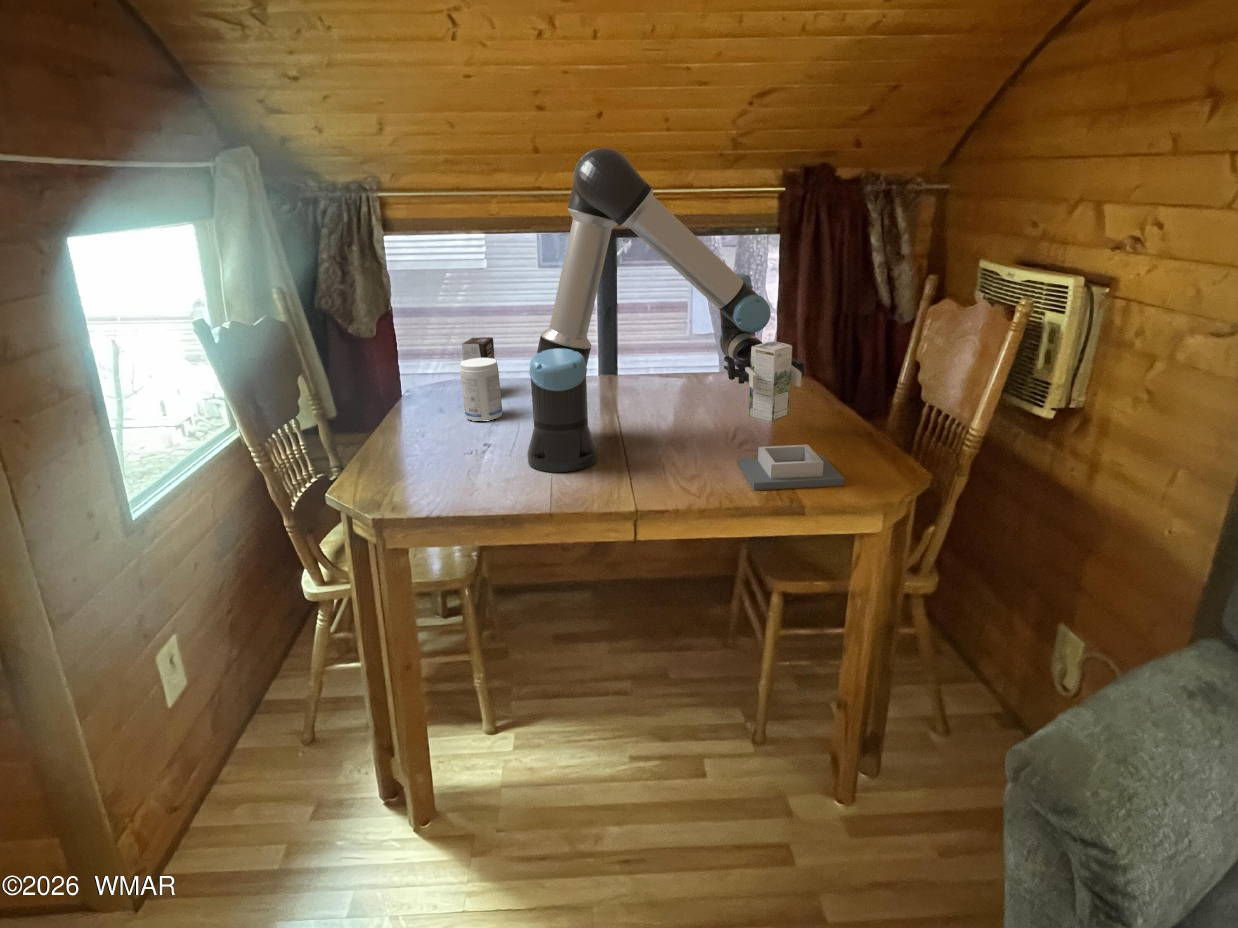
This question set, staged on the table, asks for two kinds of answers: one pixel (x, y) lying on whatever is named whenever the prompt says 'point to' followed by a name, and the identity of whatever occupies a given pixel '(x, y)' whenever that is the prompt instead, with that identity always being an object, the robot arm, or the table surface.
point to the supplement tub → (481, 389)
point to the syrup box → (770, 381)
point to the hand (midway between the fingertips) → (777, 381)
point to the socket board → (789, 468)
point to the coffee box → (478, 348)
